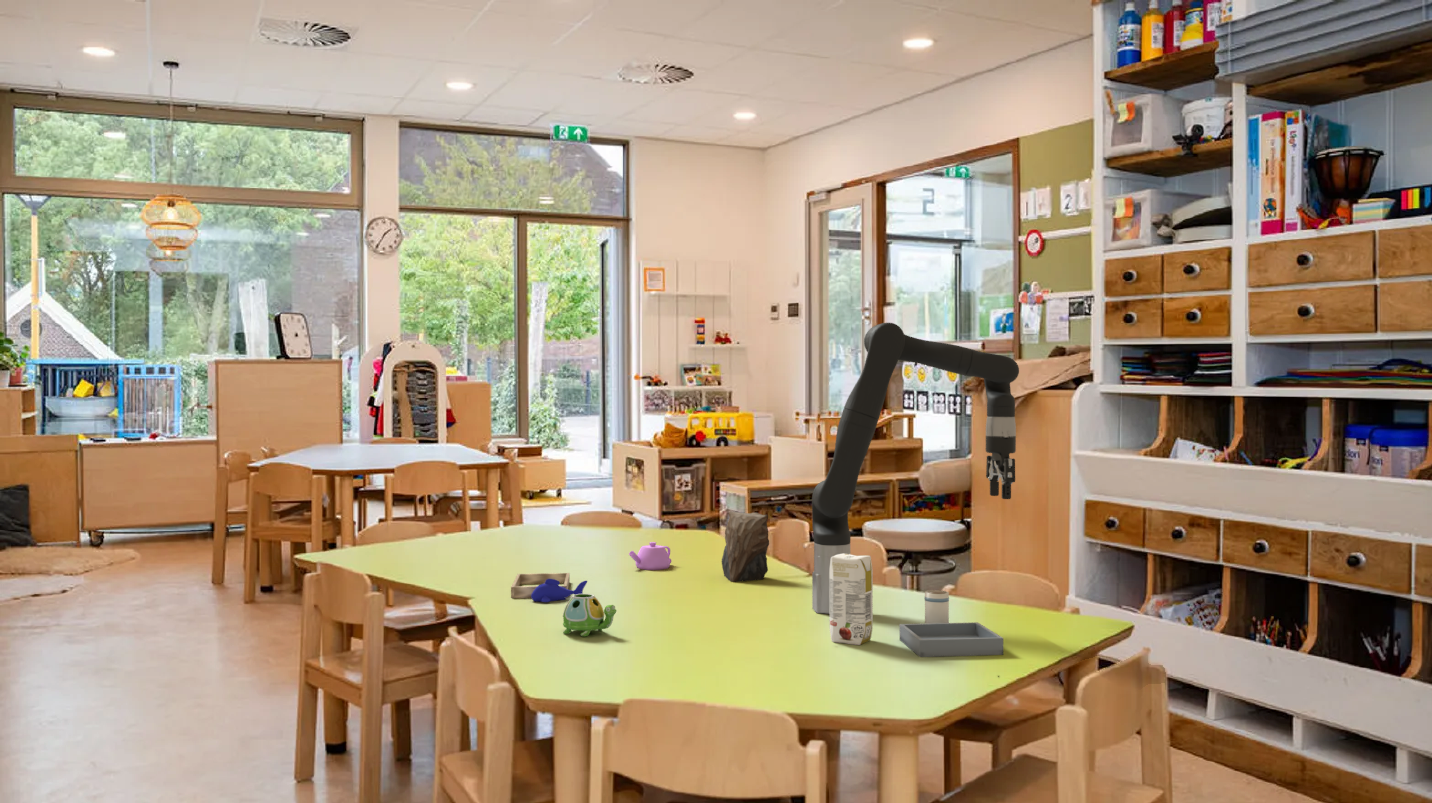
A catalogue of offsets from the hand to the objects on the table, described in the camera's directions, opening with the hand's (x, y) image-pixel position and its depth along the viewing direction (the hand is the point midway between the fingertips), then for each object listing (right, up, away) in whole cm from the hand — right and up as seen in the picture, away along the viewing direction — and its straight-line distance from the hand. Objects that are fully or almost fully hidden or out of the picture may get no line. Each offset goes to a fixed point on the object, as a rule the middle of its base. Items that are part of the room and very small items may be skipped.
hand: (1000, 497), depth 282 cm
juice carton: (-43, -29, -38) cm, 65 cm away
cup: (-22, -29, -28) cm, 46 cm away
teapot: (-93, -28, +56) cm, 112 cm away
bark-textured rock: (-64, -28, +40) cm, 81 cm away
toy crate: (-121, -28, +19) cm, 126 cm away
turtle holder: (-102, -29, -29) cm, 110 cm away
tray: (-22, -29, -44) cm, 57 cm away
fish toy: (-114, -29, +6) cm, 118 cm away
